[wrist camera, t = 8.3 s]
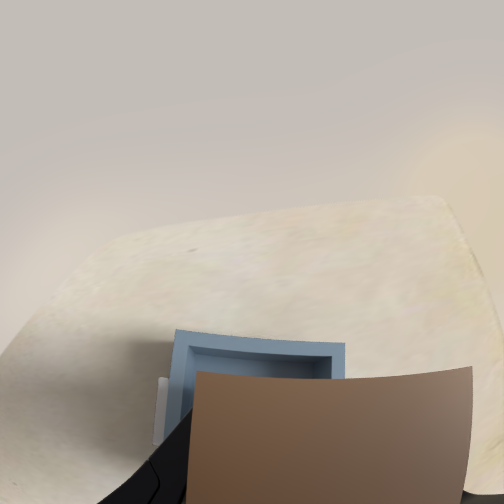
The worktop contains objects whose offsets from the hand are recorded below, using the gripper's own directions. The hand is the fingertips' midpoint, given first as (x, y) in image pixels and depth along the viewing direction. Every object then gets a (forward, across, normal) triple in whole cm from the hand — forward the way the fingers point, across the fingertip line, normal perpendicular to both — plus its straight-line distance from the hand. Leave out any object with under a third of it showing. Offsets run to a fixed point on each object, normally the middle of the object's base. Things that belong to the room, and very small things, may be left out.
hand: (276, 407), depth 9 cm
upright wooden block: (+4, 0, +6) cm, 7 cm away
